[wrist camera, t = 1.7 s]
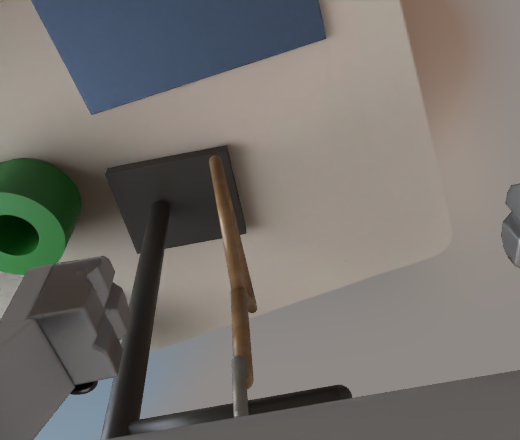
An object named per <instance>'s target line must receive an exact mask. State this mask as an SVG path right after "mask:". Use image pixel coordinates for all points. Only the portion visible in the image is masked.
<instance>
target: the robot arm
mask: <svg viewBox="0 0 520 440" xmlns="http://www.w3.org/2000/svg"><path fill="white" fill-rule="evenodd" d="M506 205H507V206H508V207H509V208H510V210H511V211H512V212H511V213H510V214H509V215H508V217H507V218H506V219H505V220H504V221H503V224H502V233H501V237H502V242H503V247H504V250H505V252H506V254H507V256H508V258H509V259H510V260H511V262H512V263H513V264H514V265H515V266H516V267H519V268H520V184H515V185H511V187H510V189H509V190H508V192H507V198H506ZM114 274H115V270H114V268H113V266H112V264H111V262H110V260H109V259H108V258H107V257H105V256H101V257H94V258H88V259H81V260H75V261H68V262H62V263H57V264H49V265H44V266H38V267H33V268H31V269H29V270H27V272H26V274H25V276H24V277H23V279H22V281H21V283H20V285H19V287H18V289H17V291H16V292H15V294H14V296H13V298H12V300H11V302H10V304H9V306H8V307H7V309H6V311H5V313H4V315H3V317H2V319H1V321H0V440H33V439H34V438H35V437H36V436H37V434H38V433H39V432H40V431H41V429H42V428H43V427H44V426H45V424H46V423H47V422H48V421H49V419H50V418H51V417H52V416H53V414H54V413H55V412H56V411H57V409H58V408H59V407H60V406H61V404H62V403H63V401H65V399H66V398H67V397H68V395H69V394H70V393H71V392H72V390H73V389H74V388H75V386H74V385H78V384H83V383H88V382H93V381H98V380H103V379H108V378H113V377H117V376H118V372H119V367H120V362H121V358H122V353H123V348H122V346H121V344H120V341H119V340H120V339H121V338H122V337H123V336H124V335H125V334H126V333H127V329H128V324H129V310H128V304H127V300H126V296H125V294H124V292H123V289H122V288H121V287H119V286H118V285H116V284H115V283H113V278H114ZM105 440H520V370H517V371H511V372H505V373H499V374H494V375H487V376H481V377H475V378H469V379H463V380H457V381H451V382H445V383H439V384H433V385H428V386H421V387H415V388H409V389H403V390H397V391H391V392H385V393H380V394H373V395H367V396H361V397H355V398H349V399H343V400H337V401H331V402H325V403H320V404H314V405H308V406H302V407H296V408H290V409H284V410H278V411H272V412H266V413H260V414H254V415H248V416H242V417H236V418H230V419H224V420H218V421H212V422H206V423H200V424H194V425H188V426H182V427H176V428H170V429H164V430H158V431H152V432H146V433H140V434H135V435H129V436H123V437H117V438H111V439H105Z"/></svg>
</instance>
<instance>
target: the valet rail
mask: <svg viewBox="0 0 520 440" xmlns="http://www.w3.org/2000/svg"><path fill="white" fill-rule="evenodd" d="M213 155H217V156H219V157H220V158H221V160H222V164H223V168H224V172H225V176H226V180H227V184H228V188H229V192H230V197H231V201H232V205H233V209H234V213H235V217H236V221H237V226H238V230H239V234H240V235H242V234H246V225H245V221H244V217H243V212H242V208H241V204H240V199H239V195H238V191H237V186H236V182H235V178H234V173H233V169H232V165H231V160H230V156H229V152H228V147H227V145H226V146H221V147H215V148H210V149H205V150H200V151H195V152H189V153H184V154H179V155H174V156H169V157H163V158H158V159H153V160H148V161H143V162H137V163H132V164H127V165H122V166H117V167H111V168H107V170H106V173H105V175H106V177H107V180H108V182H109V185H110V187H111V190H112V192H113V195H114V197H115V200H116V202H117V205H118V207H119V210H120V212H121V215H122V217H123V219H124V222H125V224H126V227H127V229H128V232H129V234H130V237H131V239H132V242H133V244H134V247H135V249H136V252H137V254H140V258H139V262H138V267H137V272H136V276H135V281H134V286H133V290H132V295H131V300H130V304H129V309H128V310H129V324H128V329H127V333H126V334H125V335H124V336H123V337H122V342H121V346H122V348H123V353H122V358H121V362H120V367H119V372H118V376H117V377H114V379H113V384H112V388H111V393H110V398H109V402H108V407H107V412H106V417H105V421H104V425H103V430H102V435H101V440H105V439H111V438H117V437H123V436H129V435H135V434H140V433H146V432H152V431H158V430H164V429H170V428H176V427H182V426H188V425H194V424H200V423H206V422H212V421H218V420H224V419H230V418H234V412H233V403H232V404H226V405H220V406H215V407H209V408H203V409H197V410H192V411H186V412H180V413H174V414H170V415H163V416H157V417H152V418H146V419H140V420H139V417H140V412H141V404H142V398H143V391H144V385H145V377H146V371H147V364H148V357H149V351H150V344H151V337H152V330H153V324H154V317H155V310H156V303H157V296H158V290H159V283H160V276H161V269H162V262H163V256H164V249H166V248H172V247H177V246H183V245H188V244H193V243H199V242H204V241H209V240H215V239H220V238H222V233H221V227H220V222H219V216H218V210H217V205H216V199H215V193H214V188H213V182H212V176H211V170H210V165H209V159H210V157H211V156H213ZM349 398H352V394H351V392H350V391H349V389H348V388H347V387H345V386H343V385H334V386H328V387H323V388H317V389H311V390H306V391H300V392H294V393H288V394H283V395H277V396H271V397H266V398H260V399H254V400H248V413H249V415H254V414H260V413H266V412H272V411H278V410H284V409H290V408H296V407H302V406H308V405H314V404H320V403H325V402H331V401H337V400H343V399H349Z"/></svg>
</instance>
